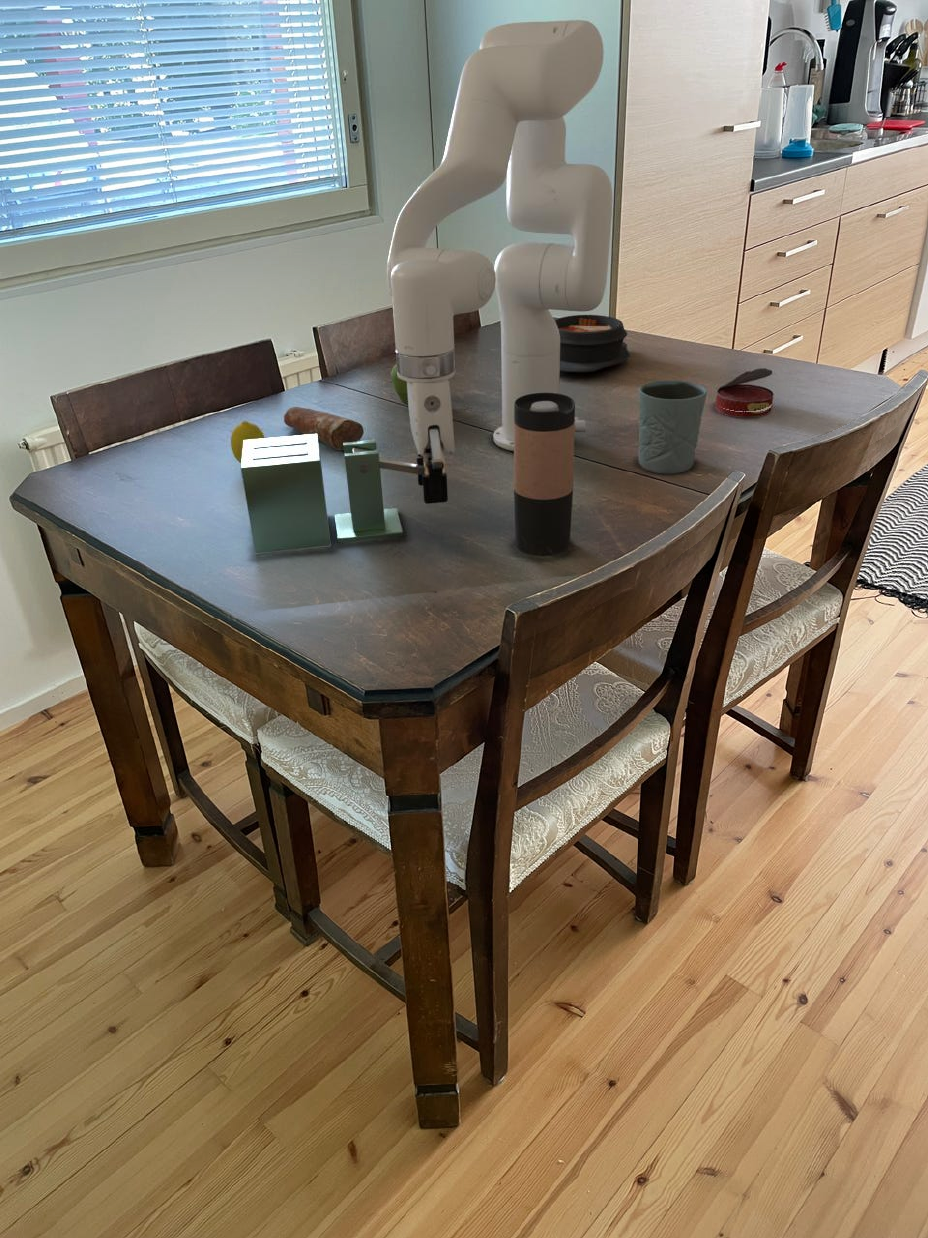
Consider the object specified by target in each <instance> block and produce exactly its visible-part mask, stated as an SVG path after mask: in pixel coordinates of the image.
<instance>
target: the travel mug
mask: <svg viewBox="0 0 928 1238" xmlns="http://www.w3.org/2000/svg"><path fill="white" fill-rule="evenodd" d="M575 417H576V401H575V400H574V398H572V397H571V396H568V395H565V394H562V393H559V394H557V393H534V394H528V395H524V396H522V397H520V398H518V399H517V400H516V401H515V404H514V451H513V504H514V505H513V506H514V524H515V525H514V529H515V547H516V549H518V550H519V551H520V552H522V553H524V554H526V555H530V556H534V557H535V556H536V557H549V556H550V557H551V556H556V555H559V554H562V553H564V552H565V551H567V550H568V549H569V548H570V545H571V543H570V541H571V528H572V513H573V512H572V511H573V497H574V473H575V472H574V470H575V468H574V467H575V432H574V428H575Z"/></svg>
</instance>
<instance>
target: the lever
mask: <svg viewBox="0 0 928 1238" xmlns="http://www.w3.org/2000/svg"><path fill="white" fill-rule="evenodd" d="M366 451H370V450H364V449H358V448H352V453H356V452H366ZM429 462H432V460H430V461H428V464H429ZM379 463H380V469H382V470H388V471H389V470H391V471H397V472H401V473H408V474H415V475H418V474H420V475H425V473H424V466H423V465H417V463H410V462H404V461H399V460H391V459H386V458H380V457H379Z"/></svg>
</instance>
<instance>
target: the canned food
mask: <svg viewBox="0 0 928 1238" xmlns="http://www.w3.org/2000/svg"><path fill="white" fill-rule="evenodd" d="M772 374H773V370H772V369H768V368H766V367H765V368H764V367H763V368H762V367H760V368H755V369H753V370H748V371H745V372H743V373H741V374H739V375H738V376H737V377H735V378H734V379H732V380H731V381H729V382H727V383H725V384H724V385H721V386H719V387H717V388H716V399H715V400H716V401H715V407H714V408H715V411H717V413H719V414H721V415H725V416H728V417H732V418H740V419H755V418H761V417H764V416H767V415H769V414H771V412H772V407H773V400H774V392H773V390H771V389H769V388H767V387H765V386H761V385H755V384H748V383H750V382H753V381H757V380H761V379H766V378H767V377H769V376H771V375H772ZM745 383H746V384H745ZM716 403H717V404H716ZM771 404H772V406H771V408H769V409H767V410H765V411H760V412H746V411H756V410H761V409H764V408H766V407H769V406H770V405H771ZM719 406H720V407H719ZM721 407H722V408H721ZM723 408H725V409H723ZM726 409H729V410H726ZM730 410H734V411H730ZM735 411H743V412H735ZM744 411H745V412H744Z"/></svg>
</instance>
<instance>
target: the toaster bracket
mask: <svg viewBox="0 0 928 1238" xmlns="http://www.w3.org/2000/svg"><path fill="white" fill-rule="evenodd" d="M343 446H344V449H343V455H344V464H345V474H346V483H347V484H346V485H347V491H348V492H347V493H348V501H349V510H350V512H345V513H336V514H334V515H333V516H334V524H335V532H336V540H337V544H340V543H349V542H350V543H351V542H359V541H369V540H377V539H378V540H379V539H386V538H387V539H388V538H397V537H398V538H399V537H404V531H403V527H402V523H401V520H400V516H399V515H400V514H399V511H398V508H397V507H394V508H384V499H383V487H382V475H381V468H380V463H379V458H380V452H379V450H378V449H377V441H376V439H371V440H359V441H358V442H347V443H343ZM352 448H358V449H364V450H370V451H366V452H356V453H352Z"/></svg>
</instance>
